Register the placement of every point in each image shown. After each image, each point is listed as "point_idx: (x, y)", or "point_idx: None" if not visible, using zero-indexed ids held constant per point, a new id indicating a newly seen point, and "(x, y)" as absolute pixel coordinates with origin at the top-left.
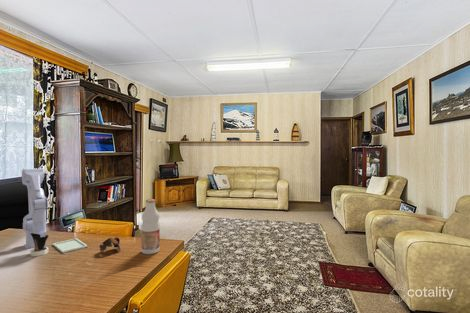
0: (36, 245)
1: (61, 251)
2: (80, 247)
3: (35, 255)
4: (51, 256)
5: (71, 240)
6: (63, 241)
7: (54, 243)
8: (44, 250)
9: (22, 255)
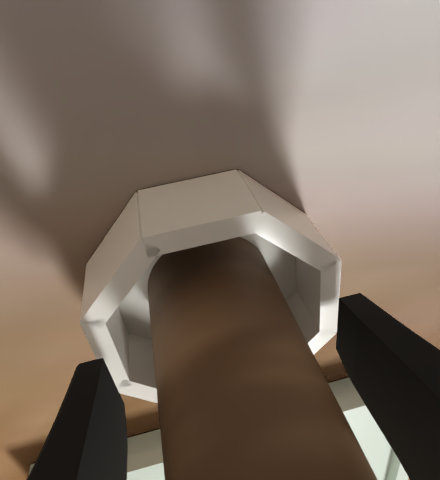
0: (178, 392)
1: None
2: None
3: (101, 255)
4: (10, 393)
5: (390, 476)
6: None
7: None
8: None
9: (338, 55)
